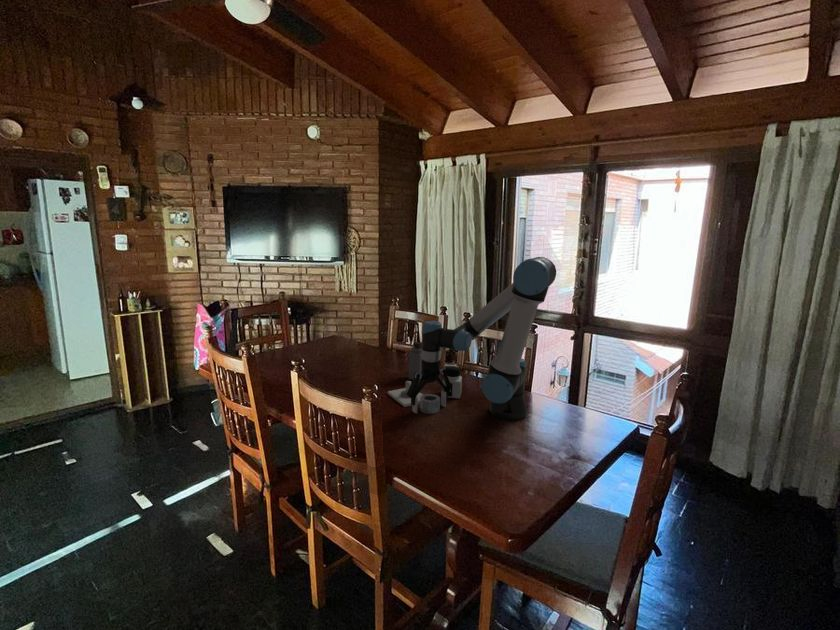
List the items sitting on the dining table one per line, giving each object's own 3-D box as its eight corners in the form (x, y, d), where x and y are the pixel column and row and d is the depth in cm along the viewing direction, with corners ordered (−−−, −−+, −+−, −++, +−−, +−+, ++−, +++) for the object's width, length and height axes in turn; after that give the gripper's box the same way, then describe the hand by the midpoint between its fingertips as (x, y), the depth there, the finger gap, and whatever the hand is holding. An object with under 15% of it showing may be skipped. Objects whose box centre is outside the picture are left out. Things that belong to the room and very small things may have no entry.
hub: (443, 411, 179) (443, 399, 178) (426, 415, 175) (426, 403, 174) (433, 404, 186) (433, 392, 185) (416, 407, 182) (416, 396, 181)
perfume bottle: (419, 381, 211) (420, 345, 208) (408, 378, 215) (409, 343, 212) (427, 378, 217) (428, 342, 213) (417, 375, 221) (417, 340, 217)
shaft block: (429, 401, 188) (429, 385, 187) (404, 406, 182) (404, 390, 181) (411, 389, 202) (411, 374, 200) (387, 393, 196) (387, 378, 194)
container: (459, 398, 192) (460, 370, 189) (442, 397, 193) (442, 368, 191) (461, 392, 199) (462, 364, 197) (444, 390, 201) (445, 363, 198)
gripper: (451, 353, 185) (449, 400, 190) (398, 361, 173) (397, 411, 177) (461, 358, 179) (459, 406, 183) (407, 366, 166) (406, 418, 171)
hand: (429, 409), depth 180 cm, fingers open, 13 cm apart
